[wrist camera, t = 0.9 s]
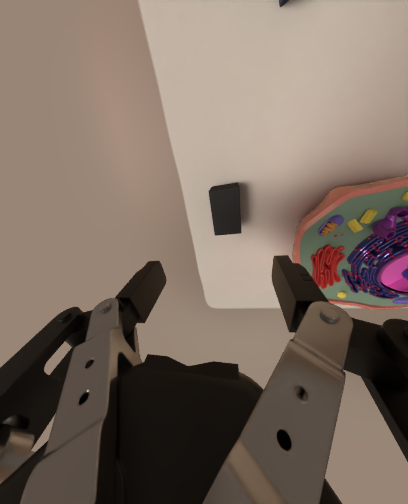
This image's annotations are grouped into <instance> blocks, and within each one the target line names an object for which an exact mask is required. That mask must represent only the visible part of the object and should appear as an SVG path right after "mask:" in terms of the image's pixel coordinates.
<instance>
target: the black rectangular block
mask: <svg viewBox="0 0 408 504" xmlns="http://www.w3.org/2000/svg"><path fill="white" fill-rule="evenodd" d="M209 197H210V204H211V211H212V218H213V225H214V232H215V235H227V234H238V233H241V216H240V193H239V185H238V183H231V184H225V185H219V186H213V187H211V189H210V190H209Z"/></svg>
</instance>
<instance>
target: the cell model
mask: <svg viewBox="0 0 408 504" xmlns="http://www.w3.org/2000/svg"><path fill="white" fill-rule="evenodd" d="M292 258H293V263H299V264H300V265H302V266H303V267H305V268H306V270H307V271H308V272H309V274H310V276H311V277H312V278H313V280H314V281H315V282H316V284H317V285H318V287H319V288H320V290H321V291H322V292H323V294H324V295H325V297H326V298H327V300H328V301H329V302H330V303H333V304H343V305H352V306H358V307H362V308H366V309H375V310H377V309H378V310H385V309H395V308H403V307H408V176H401V177H395V178H389V179H385V180H380V181H375V182H371V183H366V184H361V185H354V186H340V187H336V188H334V189H332V190H331V191H330V192H329V193H328V194H327V195H326V197H325V198H324V199H323V200H322V201H321V202H320V203H319V205H318V206H317V207H315V208H314V209H313V210H312V211H311V212H310V213H308V214H307V215H306V216H305V217H304V218H303V219H302V220H301V221H300V222H299V224H298V226H297V231H296V238H295V242H294V245H293V252H292Z"/></svg>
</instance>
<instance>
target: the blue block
mask: <svg viewBox="0 0 408 504" xmlns="http://www.w3.org/2000/svg"><path fill="white" fill-rule="evenodd" d="M287 1H288V0H279V3H280V6H282V5H283V4H284V3H286V2H287Z"/></svg>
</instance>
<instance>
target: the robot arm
mask: <svg viewBox="0 0 408 504" xmlns="http://www.w3.org/2000/svg"><path fill="white" fill-rule="evenodd" d="M272 282H273V286H274V289H275V292H276V295H277V298H278V301H279V304H280V306H281V309H282V312H283V315H284V318H285V321H286V324H287V327H288V330H289V332H295V335H294V337H293V339H291V340H290V341H289V342H288V344H287V346H286V348H285V350H284V352H283V354H282V356H281V358H280V360H279V362H278V364H277V366H276V367H275V369H274V371H273V373H272V375H271V377H270V379H269V381H268V383H267V385H266V387H265V389H264V390H263V389H262V388H261V387H260V386H259V385H258V384H257V383H256V382H255V381H253V380H252V379H251V378H249V377H248V376H246V375H245V374H242V373H240V372H239V370H238V364H232V363H222V362H208V363H203V364H198V365H193V366H186V365H184V364H182V363H180V362H178V361H176V360H174V359H172V358H170V357H167V356H159V355H149V354H148V355H147V357H146V359H145V362H143V363H142V361H141V358H140V354H139V345H138V336H137V329H136V327H135V325H136V324H137V323H145V321H146V319H147V318H148V316H149V314H150V312H151V310H152V308H153V307H154V305H155V303H156V301H157V299H158V297H159V295H160V294H161V292H162V290H163V288H164V286H165V284H166V276H165V273H164V270H163V268H162V265H161V263H160V261H149V262H147V264H146V265H145V266H144V267H143V268H142V269H141V270H139V271H138V272H137V273H136V274H135V275H134V276H133V277H132V279H131V280H130V281H129V283H127V284H126V285H125V286H124V288H123V289H122V290H121V291H120V292H119V294H118V295H117V296H116V297H115V298H110V299H107V300H104V301H103V302H101V303H99V304H98V305H97V306H96V307H95V308H94V309H93V310H91V311H87V312H82V311H81V310H80V309H79V308H78V307H72V308H69V309H67V310H65V311H63V312H61V313H60V314H58V315H57V316H56V317H55V318H54V319H53V320H52V321H51V322H49V323H48V324H47V325H46V326H45V327H44V328H43V329H42V330H41V331H40V332H39V333H38V334H36V335H35V336H34V337H33V338H32V339H31V340H30V341H29V342H28V343H27V344H26V345H25V346H24V347H22V348H21V349H20V350H19V351H18V352H17V353H16V354H15V355H14V356H13V357H12V358H11V359H9V361H7V362H6V363H5V364H4V365H3V366H2V367H1V368H0V504H342V503H341V501H340V500H339V498H338V497H337V495H336V494H335V493H334V491H333V489H332V488H331V486H330V485H329V483H328V482H327V481H326V479H325V474H326V469H327V464H328V459H329V455H330V450H331V445H332V440H333V435H334V431H335V426H336V422H337V417H338V412H339V407H340V403H341V398H342V393H343V389H344V384H345V372H343V369H344V370H346V371H349V372H352V373H354V374H357V375H359V376H361V378H362V379H363V381H364V383H365V385H366V387H367V389H368V390H369V392H370V394H371V396H372V398H373V399H374V401H375V403H376V405H377V407H378V409H379V410H380V412H381V414H382V416H383V417H384V420H385V421H386V423H387V425H388V427H389V429H390V430H391V432H392V434H393V436H394V438H395V440H396V441H397V443H398V445H399V447H400V449H401V451H402V452H403V454H404V456H405V458H406V460H407V461H408V321H406V320H402V319H389V320H386V321H385V322H384V323H383V325H382V326H381V325H377V324H373V323H369V322H365V321H362V320H358V319H354V318H352V317H350V316H349V314H348V313H347V312H346V311H344V310H343V309H342V308H340V307H338V306H336V305H334V304H331V303H330V302H329V301H328V300H327V298H326V297H325V295H324V294H323V292H322V291H321V290H320V288H319V287H318V285H317V284H316V282H315V281H314V280H313V278H312V277H311V276H310V274H309V272H308V271H307V270H306V268H305V267H303V266H302V265H300V264H299V263H292V261H291V260H290V258H289V256H288V255H283V256H274V258H273V268H272ZM64 341H66V342H67V343H68V344H69V345H70V346H71V347H72V348H71V349H70V351H69V352H68V353H67V354H66V355H65V357H64V358H63V359H62V360H61V362H60V363H59V364H58V365H57V367H56V368H55V369H54V370H53V372H52V373H51V374H50V375H47V374H46V373H45V372H44V366H45V364H46V362H47V361H48V360H49V359H50V358H51V356H52V355H53V354H54V353H55V352H56V350H58V348H59V347H60V346H61V345H62V344H63V343H64ZM55 413H56V415H55ZM54 415H55V418H54V422H53V426H52V430H51V433H50V437H49V440H48V441H47V442H46V443H45V444H44V445H43V446H42V447H41V448H40V449H38V451H36V452H33V451H31V450H32V448H33V447H34V445H35V443H36V442H37V440H38V439H39V437H40V436H41V434H42V433H43V431H44V430H45V428H46V427H47V425H48V424H49V422H50V421H51V419H52V418H53V416H54Z"/></svg>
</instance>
